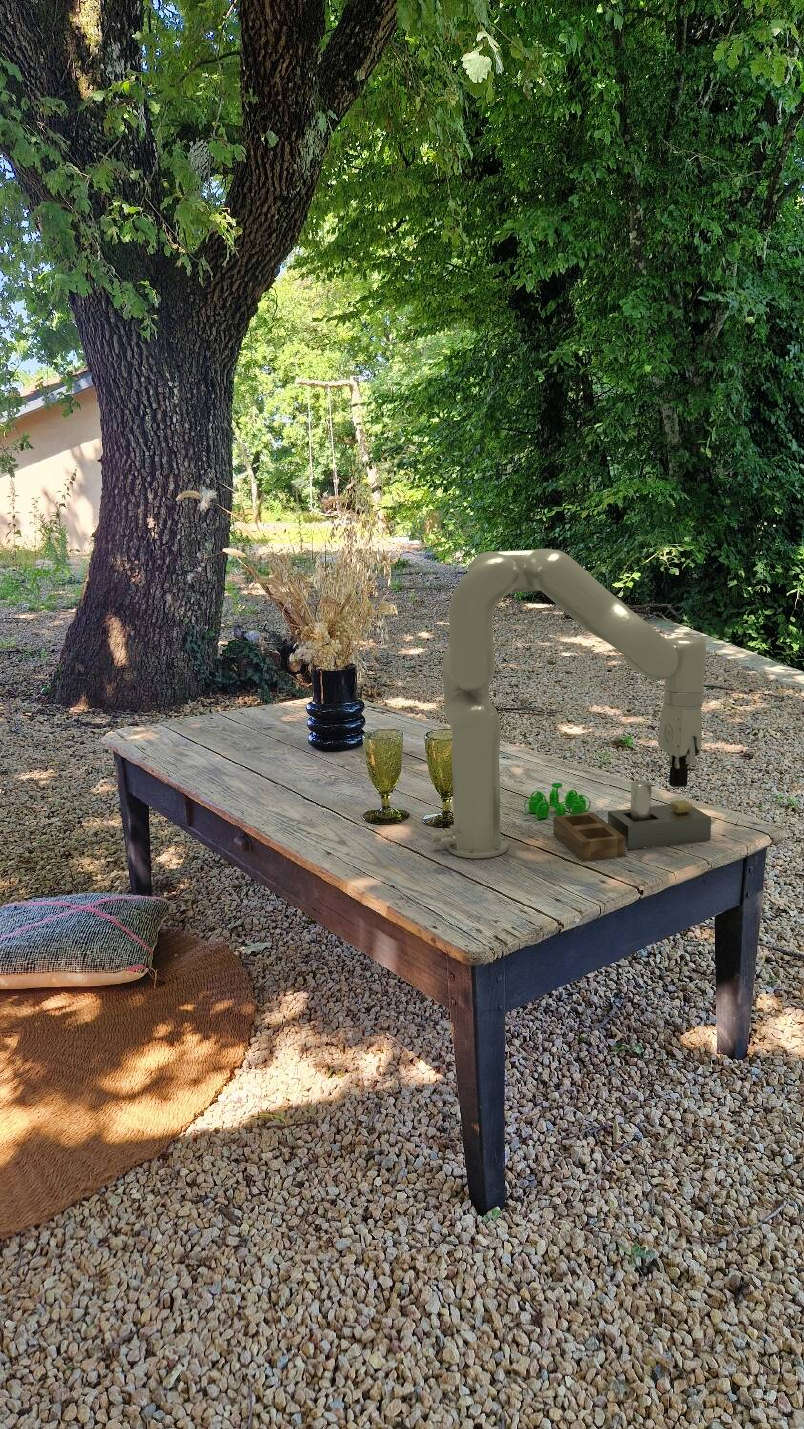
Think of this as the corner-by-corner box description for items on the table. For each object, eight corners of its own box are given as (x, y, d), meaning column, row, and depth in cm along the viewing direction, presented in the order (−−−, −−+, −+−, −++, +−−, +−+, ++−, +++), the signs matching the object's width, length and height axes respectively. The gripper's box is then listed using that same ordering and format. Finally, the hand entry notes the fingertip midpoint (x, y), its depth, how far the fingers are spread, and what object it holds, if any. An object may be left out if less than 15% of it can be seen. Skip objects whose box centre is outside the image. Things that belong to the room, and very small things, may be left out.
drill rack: (582, 861, 177) (582, 842, 176) (553, 834, 192) (553, 816, 191) (625, 856, 178) (625, 837, 178) (593, 829, 194) (593, 812, 193)
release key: (677, 836, 187) (677, 806, 186) (669, 831, 190) (670, 801, 189) (691, 834, 188) (692, 804, 186) (683, 829, 191) (684, 800, 189)
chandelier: (596, 823, 198) (596, 793, 197) (527, 825, 199) (527, 795, 198) (584, 802, 213) (584, 773, 212) (521, 804, 214) (520, 776, 212)
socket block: (628, 850, 182) (628, 826, 181) (607, 833, 191) (607, 811, 190) (710, 840, 185) (711, 817, 184) (686, 824, 195) (686, 802, 193)
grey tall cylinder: (635, 843, 185) (636, 787, 183) (627, 836, 189) (627, 781, 186) (653, 841, 186) (654, 785, 183) (644, 834, 190) (645, 780, 187)
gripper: (649, 692, 189) (644, 777, 193) (684, 707, 175) (678, 797, 179) (682, 691, 191) (677, 774, 195) (719, 705, 176) (713, 795, 180)
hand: (678, 785), depth 187 cm, fingers closed
